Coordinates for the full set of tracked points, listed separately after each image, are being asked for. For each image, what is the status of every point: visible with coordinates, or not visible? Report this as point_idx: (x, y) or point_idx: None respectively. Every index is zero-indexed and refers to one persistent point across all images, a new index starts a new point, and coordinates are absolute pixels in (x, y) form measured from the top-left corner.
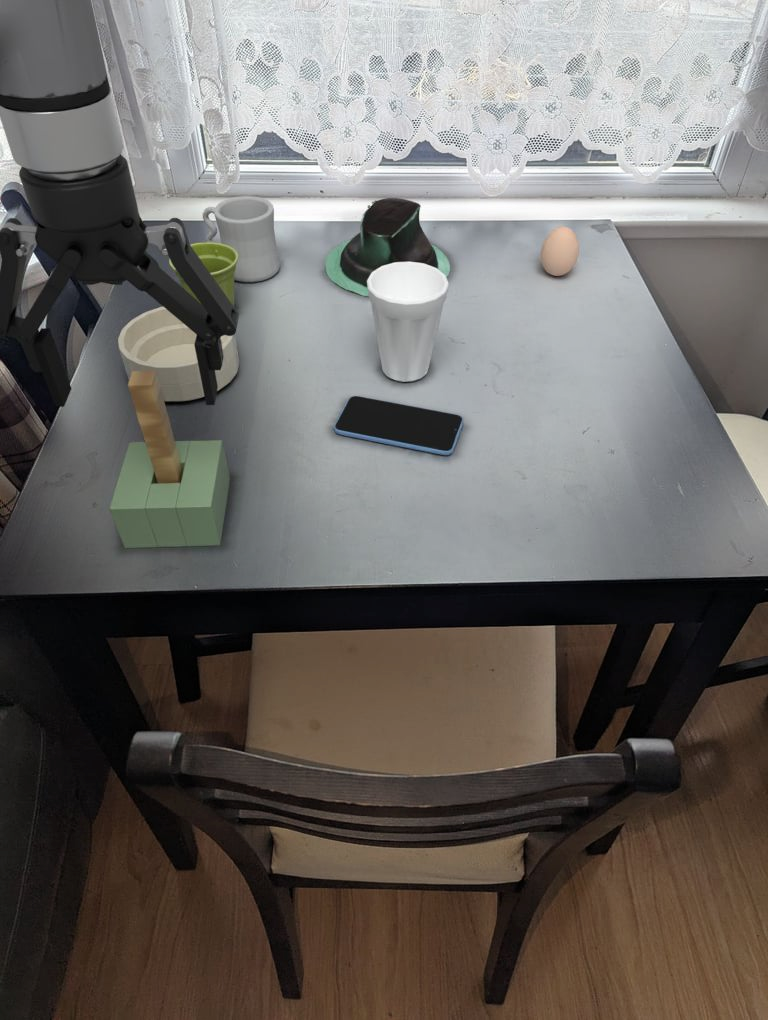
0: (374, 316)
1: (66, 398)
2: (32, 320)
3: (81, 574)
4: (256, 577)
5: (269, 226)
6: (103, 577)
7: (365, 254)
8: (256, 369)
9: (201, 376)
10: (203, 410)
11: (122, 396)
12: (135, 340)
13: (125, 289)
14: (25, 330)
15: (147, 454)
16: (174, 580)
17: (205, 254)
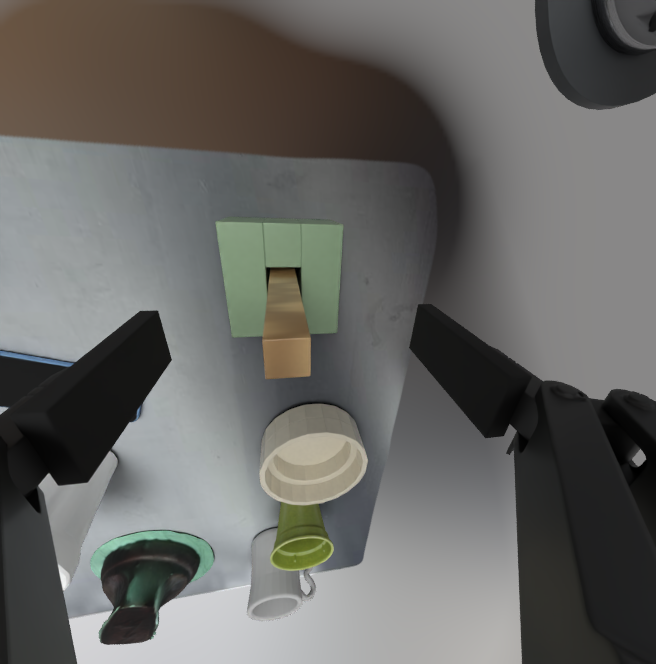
0: (86, 519)
1: (415, 323)
2: (584, 442)
3: (368, 184)
4: (171, 160)
5: (251, 592)
6: (345, 177)
7: (159, 576)
8: (247, 445)
9: (116, 344)
10: (286, 397)
11: (359, 407)
12: (354, 462)
13: (371, 507)
14: (577, 411)
15: (314, 314)
16: (269, 165)
17: (305, 555)
